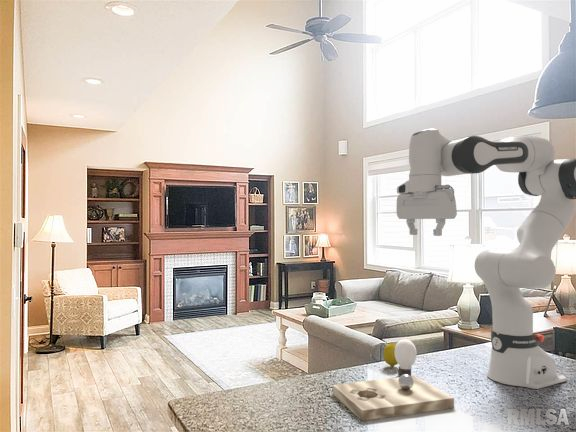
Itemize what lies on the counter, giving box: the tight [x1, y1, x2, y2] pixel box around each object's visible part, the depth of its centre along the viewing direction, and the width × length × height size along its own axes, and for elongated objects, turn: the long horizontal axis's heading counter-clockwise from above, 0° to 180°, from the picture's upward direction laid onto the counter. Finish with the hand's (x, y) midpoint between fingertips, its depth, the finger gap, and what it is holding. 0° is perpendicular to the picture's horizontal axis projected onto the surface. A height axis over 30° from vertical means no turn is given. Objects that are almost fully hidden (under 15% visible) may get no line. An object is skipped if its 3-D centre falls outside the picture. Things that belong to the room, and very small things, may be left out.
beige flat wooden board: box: [332, 375, 455, 422], centre depth 124 cm, size 26×18×2 cm
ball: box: [398, 374, 414, 390], centre depth 125 cm, size 4×4×4 cm
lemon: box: [383, 341, 399, 368], centre depth 152 cm, size 6×6×8 cm
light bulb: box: [394, 338, 418, 376], centre depth 145 cm, size 7×7×11 cm
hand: (425, 235), depth 132 cm, fingers open, 8 cm apart
